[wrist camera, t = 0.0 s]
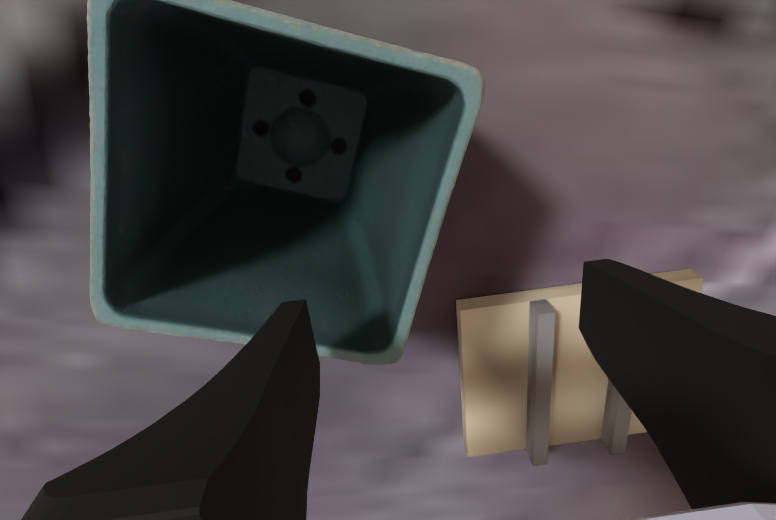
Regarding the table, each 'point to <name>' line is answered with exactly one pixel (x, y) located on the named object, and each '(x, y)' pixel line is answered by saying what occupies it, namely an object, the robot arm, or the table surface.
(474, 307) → the track board
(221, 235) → the flower pot
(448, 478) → the table surface
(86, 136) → the table surface
